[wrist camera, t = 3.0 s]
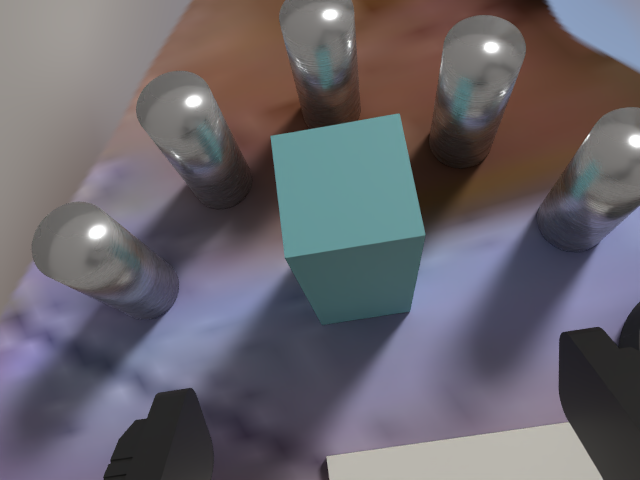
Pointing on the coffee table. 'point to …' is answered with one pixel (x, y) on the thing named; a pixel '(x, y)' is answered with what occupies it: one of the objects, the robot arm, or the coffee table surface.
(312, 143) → the teal block
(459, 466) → the tile
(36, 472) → the coffee table surface
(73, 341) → the coffee table surface
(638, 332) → the media streaming box
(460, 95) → the posts
